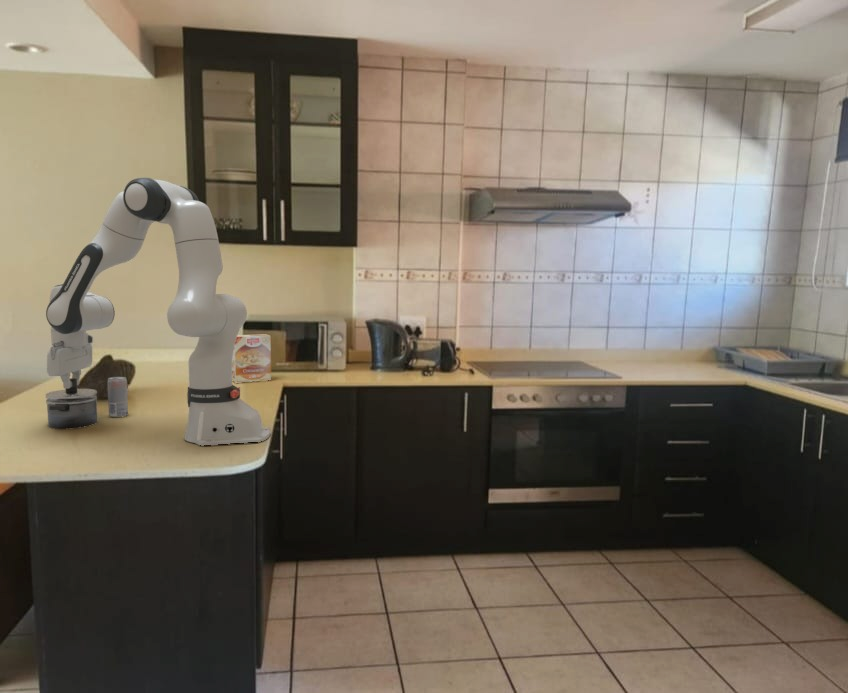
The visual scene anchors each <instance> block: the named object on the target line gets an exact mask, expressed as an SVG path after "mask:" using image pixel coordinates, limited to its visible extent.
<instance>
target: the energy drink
mask: <svg viewBox="0 0 848 693" xmlns="http://www.w3.org/2000/svg"><path fill="white" fill-rule="evenodd" d="M107 400H108V401H107V402H108V404H107V405H108V416H109V418H112V417H120V418H123V417H122V416H125V417H127V416H128V415H129V406H128V405H129V402H128V400H129V399H128V380H127V377H126V376H112V377H108V378H107ZM126 415H127V416H126Z"/></svg>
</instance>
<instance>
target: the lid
mask: <svg viewBox="0 0 848 693" xmlns="http://www.w3.org/2000/svg"><path fill="white" fill-rule="evenodd" d="M70 381H71V382H72V387H71V388H69V389H59V390H54V391H49V392H46V393H45V399H46V400H47V399H54V400H68V399H80V398H86V397H91V396H94V395H96V396H97V394H98V391H97V390H96V389H94V388H93V389H92V388H78V385H77V379H76V378H72V377H71V378H70Z"/></svg>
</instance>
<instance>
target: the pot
mask: <svg viewBox="0 0 848 693" xmlns="http://www.w3.org/2000/svg"><path fill="white" fill-rule="evenodd" d="M97 399H98V395H97V394H96V395H94V396H91V397H86V398H80V399H68V400H54V399H47V398H46V400H45V403H46V405H47V406H46V409H47V427H48V426H49V427H48V428H50V429H53V428H55V429H54V430H70V429H69V428H73V429H80V428H79V427H81V428H85V427H84V426H86V427H90V426H89V425H91V426H93V425H92V424H94V425H96V424H98V407H97V406H98V405H97V404H98V403H97V402H98V401H97ZM95 423H96V424H95ZM66 428H68V429H66Z"/></svg>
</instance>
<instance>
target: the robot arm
mask: <svg viewBox="0 0 848 693" xmlns="http://www.w3.org/2000/svg"><path fill="white" fill-rule="evenodd" d="M156 222H157V223H160V224H167V225H169V226H170V227H171V231H172V234H173V240H174V248H175V254H176V259H177V267H178V285H177V292H176V295H175V297H174V299H173V301H172V302H171V304H170V305H169V306H168V309H167V313H166V319H167V323H168V326H169V327H170V329H171V330H172V331H173V332H174V333H176V334H177V335H179V336H185V337H189V338H198V342H197V344H196V346H195V348H194V350H193V352H191V354H190V356H189V357H188V383H189V384H188V385H189V386H188V387H187V394H186V396H187V397H186V398H187V399H186V401H187V406H188V417H187V425H186V430H185V434H184V438H183V439H184V440H185V441H187V442H188V443H192V444H193V443H194V444H196V445H198V446H200V445H201V447H205V446H204V445H211V446H219V445H218V444H228V445H231V444H230V443H244V444H248V443H247V442H258V443H261V441H262V442H264V441H266V440H267V439H268V438H270V435H271V430H270V428H269V427H266V426H263V422H262V418H261V414H260V412H259V411H258V410H257V409H256V408H254V407H252V406H251V405H249V404H248V403H246V401H244V400H243V399H241V387H240V386H238V387H237V386H236V385H233V381H232V356H233V350H234V346H235V342H236V338H237V335H239V332H240V330H241V328H242V327H243V326H244V324H245V322H246V320H247V316H248V315H247V314H248V312H247V311H248V310H247V307H246V305H245V304H244V301H242V300H241V299H240V298H239V297H236V296H233V295H230V294H226V293H217V283H218V279H219V276H221V274H222V273H223V268H224V264H223V259H222V253H221V246H220V242H219V236H218V232H217V227H216V222H215V220H214V217H213V215H212V212H211V210H210V207H209V206H208V205H207V204H206V203H204V202H202V201H200V200H199V198H198V196H197V195H196V193H195V192H194V191H192V190H191V189H189V188H187V187H186V186H182V185H178V184H175V183H171V182H170V181H167V180H162V179H156V178H155V179H154V178H153V179H152V178H151V177H138V178H134V179H132V180H130V181H129V182H128V183H127V184H126V186H125V188H124V190H123V191H120V192H119V193H118V194H116V195H115V198H114V199H113V201H112V202H111V203H110V206H109V207H108V210H107V211H106V214H105V216H104V218H103V221H102V223H101V226H100V227H99V230H98V231H97V233H96V235H95V236H94V238H93V239H92V240H91V241H90V242H89V243H88V244H87V245H86V246H84V248H83V249H82V250H81V251H80V252H79V254H78V256H77V258H76V259H75V261H74V263H73V265H72V266H71V269H70V270H69V273H67V276H66V278H65V280H64V282H63V283H62V284H57V285H55V286H53V287H52V288H51V290H50V295H49V303H48V305H47V307H46V309H45V310H46V311H45V315H46V316H45V317H46V320H47V322H48V324H49V326H50V338H51V347H50V349H49V350H48V351H47V356H46V358H47V359H46V373H47V374H48V376H49V377H60V380H61V382H62V384H63V385H62V386H63V389H64V390H66V389H69V388H71V387H72V382H71V381H70V377H71V374H72V377H71V378H76V379H77V386H79V385H80V378H81V375H82V370H83V369H87V368H90V367H91V366H92V364H93V346H92V344H93V343H94V337H93V336H92V335H91V334H89V333H88V332H87V331H93V330H100V329H105V328H107V327H109V326H110V325H112V323H113V321H114V320H115V315H116V314H115V312H116V311H115V307H114V305H113V303H112V301H111V300H110V299H109V298H108V297H106V296H100V295H98V294H96V293H92V292H90V291H89V290H90V289H91V287H92V285H93V283H94V281H95V280H96V278H97V277H98V276H99V275H100V274H101V273H102V272H104V271H105V270H108V269H110V268H112V267H114V266H117V265H121V264H124V263H127V262H129V261H131V260H133V259H134V258H136V256H138V253H139V252H140V250H141V249H142V246H143V245H144V241H145V239H146V236H147V233H148V231H149V228H150V226H151V225H152V224H153V223H156Z"/></svg>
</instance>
